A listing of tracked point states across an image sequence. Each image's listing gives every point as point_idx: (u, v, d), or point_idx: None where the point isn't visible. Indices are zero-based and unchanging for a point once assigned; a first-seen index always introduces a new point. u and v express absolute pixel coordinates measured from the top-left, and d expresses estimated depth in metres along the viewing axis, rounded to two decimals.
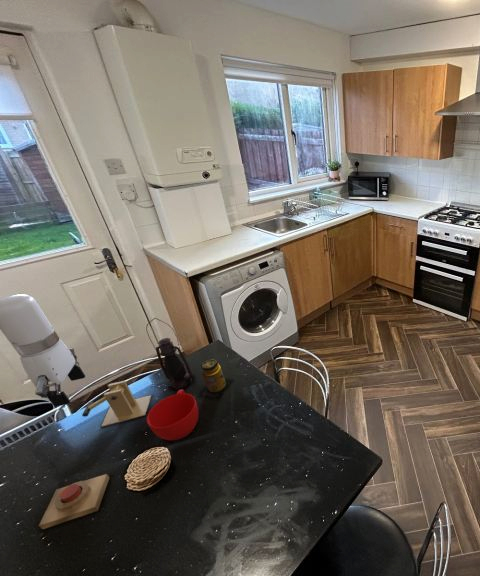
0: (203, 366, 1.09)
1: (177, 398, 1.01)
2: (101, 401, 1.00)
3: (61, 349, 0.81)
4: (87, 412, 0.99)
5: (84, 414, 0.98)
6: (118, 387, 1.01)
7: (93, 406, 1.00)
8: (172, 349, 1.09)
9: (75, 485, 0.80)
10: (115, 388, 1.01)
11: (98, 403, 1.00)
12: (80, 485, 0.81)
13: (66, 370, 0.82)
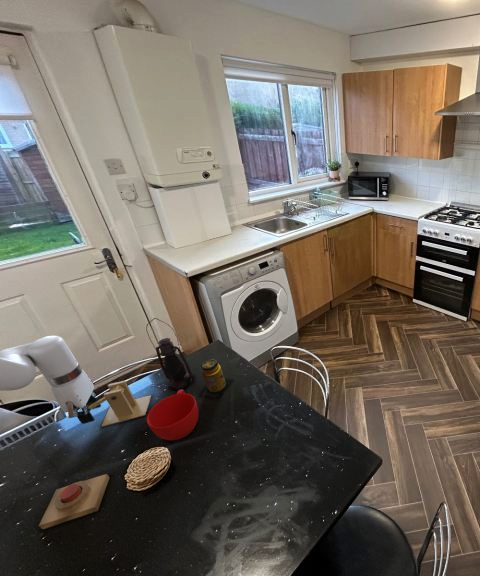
0: (203, 366, 1.09)
1: (177, 398, 1.01)
2: (101, 401, 1.00)
3: (83, 378, 0.97)
4: None
5: None
6: (118, 387, 1.01)
7: (93, 406, 1.00)
8: (172, 349, 1.09)
9: (75, 485, 0.80)
10: (115, 388, 1.01)
11: (98, 403, 1.00)
12: (80, 485, 0.81)
13: (87, 396, 0.98)
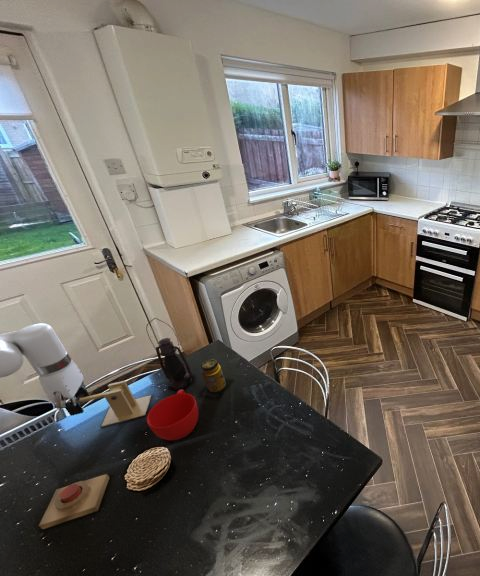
0: (203, 366, 1.09)
1: (177, 398, 1.01)
2: (96, 397, 0.99)
3: (72, 368, 0.94)
4: None
5: None
6: (120, 388, 1.01)
7: (86, 400, 0.98)
8: (172, 349, 1.09)
9: (75, 485, 0.80)
10: (117, 388, 1.01)
11: (92, 398, 0.99)
12: (80, 485, 0.81)
13: (76, 386, 0.95)
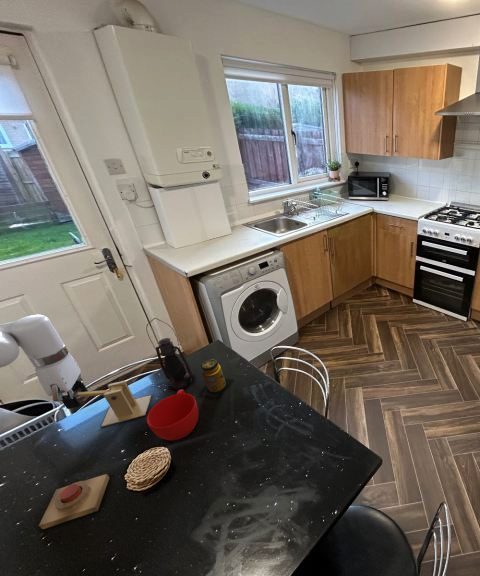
0: (203, 366, 1.09)
1: (177, 398, 1.01)
2: (95, 394, 0.98)
3: (69, 361, 0.93)
4: None
5: None
6: (122, 388, 1.02)
7: (84, 395, 0.97)
8: (172, 349, 1.09)
9: (75, 485, 0.80)
10: (119, 388, 1.01)
11: (91, 394, 0.98)
12: (80, 485, 0.81)
13: (73, 379, 0.94)
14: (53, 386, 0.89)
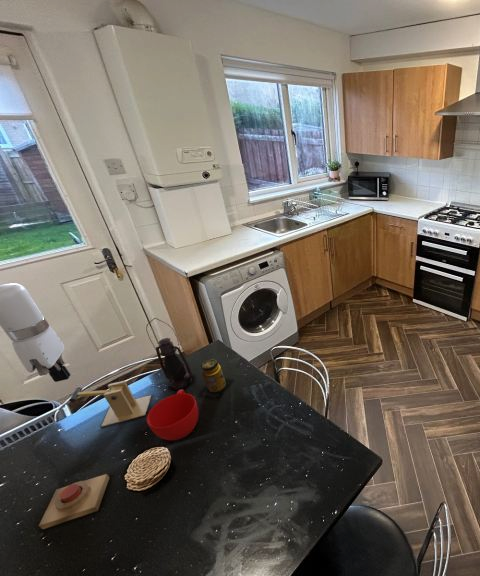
0: (203, 366, 1.09)
1: (177, 398, 1.01)
2: (95, 394, 0.98)
3: (51, 335, 0.86)
4: (75, 398, 0.95)
5: (72, 400, 0.95)
6: (122, 388, 1.02)
7: (84, 395, 0.97)
8: (172, 349, 1.09)
9: (75, 485, 0.80)
10: (119, 388, 1.01)
11: (91, 394, 0.98)
12: (80, 485, 0.81)
13: (56, 355, 0.87)
14: (35, 362, 0.83)
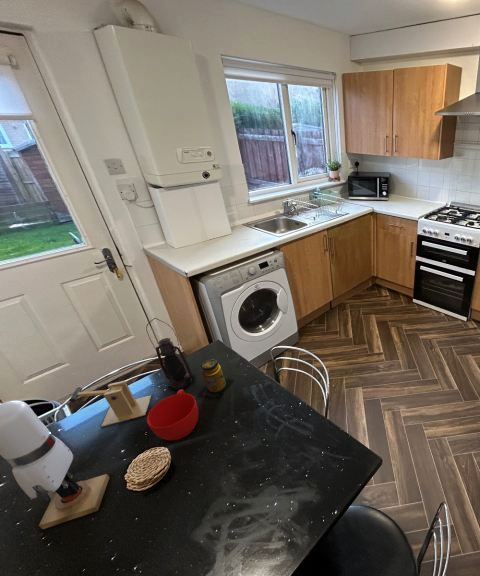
0: (203, 366, 1.09)
1: (177, 398, 1.01)
2: (95, 394, 0.98)
3: (57, 450, 0.74)
4: (75, 398, 0.95)
5: (72, 400, 0.95)
6: (122, 388, 1.02)
7: (84, 395, 0.97)
8: (172, 349, 1.09)
9: None
10: (119, 388, 1.01)
11: (91, 394, 0.98)
12: (80, 485, 0.81)
13: (63, 472, 0.75)
14: (39, 487, 0.70)
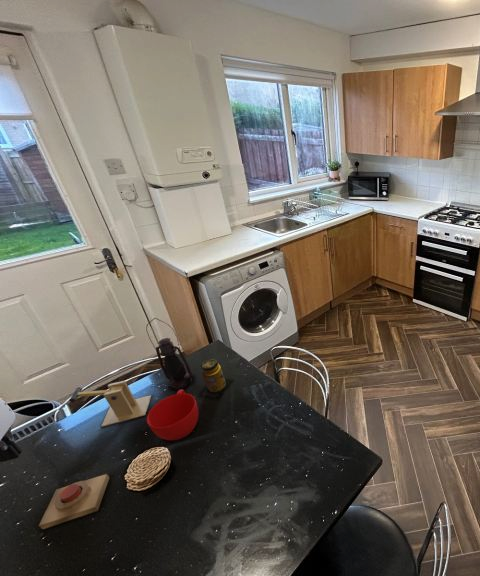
0: (203, 366, 1.09)
1: (177, 398, 1.01)
2: (95, 394, 0.98)
3: None
4: (75, 398, 0.95)
5: (72, 400, 0.95)
6: (122, 388, 1.02)
7: (84, 395, 0.97)
8: (172, 349, 1.09)
9: (75, 485, 0.80)
10: (119, 388, 1.01)
11: (91, 394, 0.98)
12: (80, 485, 0.81)
13: (1, 432, 0.68)
14: None
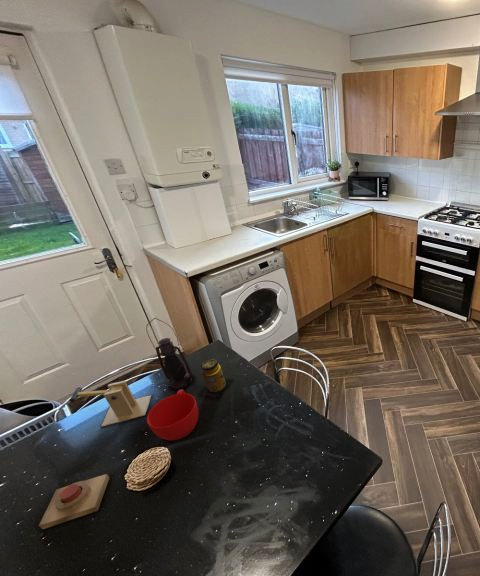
0: (203, 366, 1.09)
1: (177, 398, 1.01)
2: (95, 394, 0.98)
3: None
4: (75, 398, 0.95)
5: (72, 400, 0.95)
6: (122, 388, 1.02)
7: (84, 395, 0.97)
8: (172, 349, 1.09)
9: (75, 485, 0.80)
10: (119, 388, 1.01)
11: (91, 394, 0.98)
12: (80, 485, 0.81)
13: None
14: None
